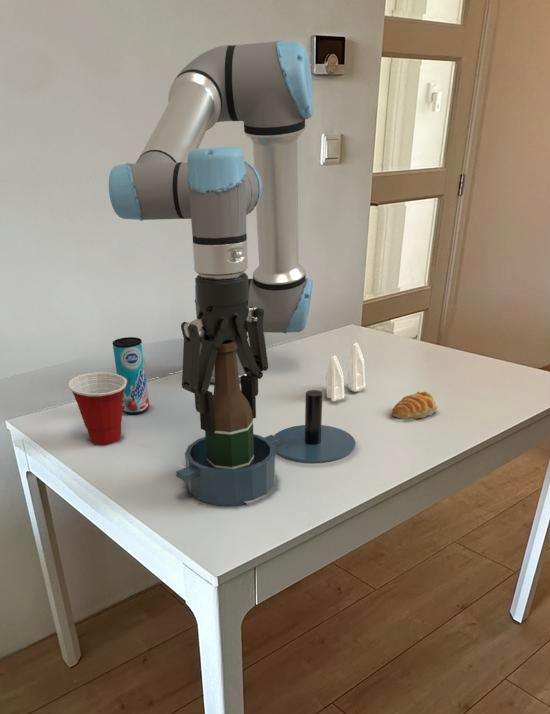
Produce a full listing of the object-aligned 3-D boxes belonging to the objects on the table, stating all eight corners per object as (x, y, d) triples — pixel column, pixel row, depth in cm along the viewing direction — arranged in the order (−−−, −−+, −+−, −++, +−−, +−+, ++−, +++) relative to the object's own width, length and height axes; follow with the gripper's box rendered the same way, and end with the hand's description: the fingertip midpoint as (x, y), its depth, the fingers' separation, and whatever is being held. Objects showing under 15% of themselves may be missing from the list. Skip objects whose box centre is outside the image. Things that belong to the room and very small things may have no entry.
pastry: (409, 425, 124) (411, 407, 122) (383, 416, 129) (384, 398, 127) (438, 412, 129) (441, 394, 127) (412, 404, 134) (414, 386, 132)
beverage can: (125, 417, 133) (115, 347, 125) (119, 407, 138) (109, 339, 130) (152, 412, 135) (144, 343, 127) (145, 403, 140) (137, 335, 132)
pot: (158, 487, 106) (154, 454, 103) (249, 452, 117) (248, 420, 114) (209, 522, 97) (207, 486, 93) (304, 480, 107) (305, 446, 104)
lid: (253, 446, 119) (252, 392, 113) (313, 423, 127) (314, 372, 122) (311, 474, 108) (313, 417, 103) (372, 447, 116) (377, 393, 111)
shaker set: (357, 385, 144) (360, 337, 138) (371, 390, 141) (375, 341, 136) (320, 398, 138) (321, 349, 132) (334, 404, 135) (336, 353, 129)
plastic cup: (108, 455, 118) (99, 394, 111) (67, 444, 123) (55, 385, 116) (145, 434, 125) (138, 376, 119) (105, 424, 130) (96, 367, 124)
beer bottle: (207, 473, 110) (198, 335, 97) (252, 470, 110) (248, 332, 97) (209, 495, 103) (199, 350, 90) (257, 491, 103) (253, 347, 91)
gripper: (175, 289, 81) (189, 449, 93) (293, 265, 92) (291, 412, 104) (145, 281, 86) (162, 434, 98) (259, 259, 97) (262, 400, 109)
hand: (228, 422), depth 101 cm, fingers closed on beer bottle, 8 cm apart
